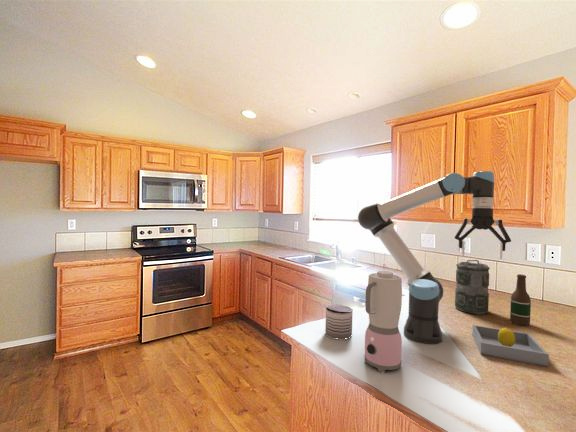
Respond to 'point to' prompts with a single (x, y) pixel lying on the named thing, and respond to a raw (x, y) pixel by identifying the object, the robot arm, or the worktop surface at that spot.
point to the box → (521, 351)
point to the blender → (383, 321)
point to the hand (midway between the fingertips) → (481, 257)
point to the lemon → (506, 337)
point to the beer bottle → (520, 303)
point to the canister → (472, 287)
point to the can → (338, 321)
